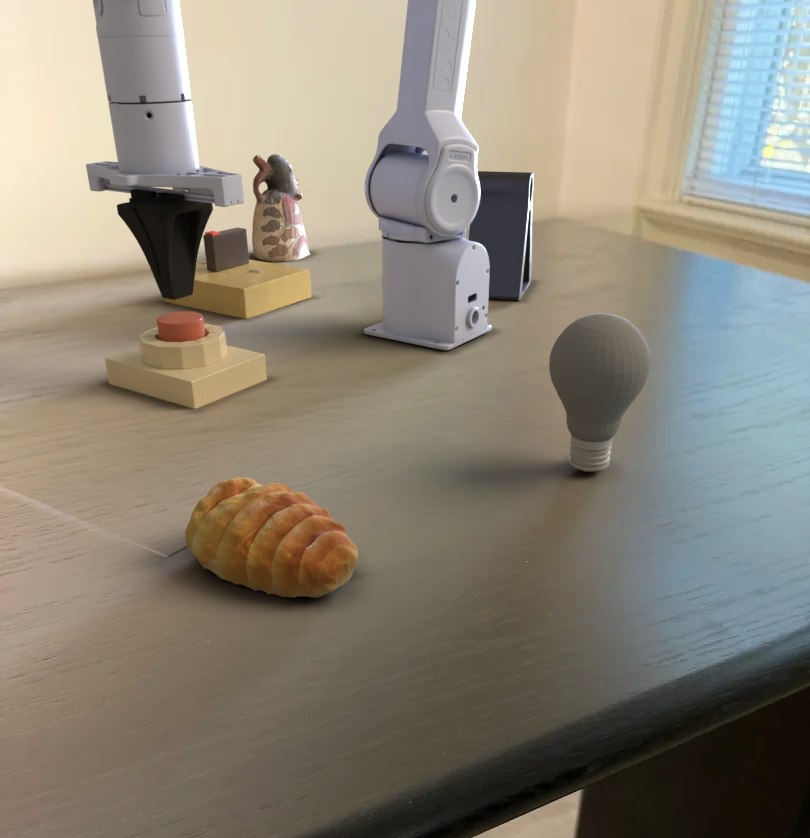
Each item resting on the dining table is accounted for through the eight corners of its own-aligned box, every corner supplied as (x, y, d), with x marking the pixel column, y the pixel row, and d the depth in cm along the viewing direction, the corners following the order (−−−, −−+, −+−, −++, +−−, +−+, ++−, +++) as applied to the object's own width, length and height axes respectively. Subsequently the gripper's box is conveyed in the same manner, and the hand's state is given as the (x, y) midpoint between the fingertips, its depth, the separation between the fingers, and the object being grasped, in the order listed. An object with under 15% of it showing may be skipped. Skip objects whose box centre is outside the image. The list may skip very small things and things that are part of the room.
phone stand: (518, 301, 93) (525, 179, 87) (463, 298, 95) (465, 177, 89) (531, 281, 101) (538, 167, 95) (480, 278, 102) (483, 166, 96)
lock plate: (311, 297, 95) (309, 267, 94) (246, 319, 88) (243, 287, 87) (227, 282, 102) (224, 253, 100) (160, 301, 94) (156, 271, 93)
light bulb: (571, 442, 61) (584, 296, 56) (652, 465, 58) (673, 312, 53) (523, 471, 57) (533, 317, 52) (607, 498, 54) (626, 335, 49)
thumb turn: (240, 261, 97) (236, 224, 95) (249, 263, 96) (246, 226, 94) (206, 270, 93) (202, 232, 92) (216, 272, 93) (211, 233, 91)
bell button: (215, 337, 71) (212, 315, 70) (181, 348, 68) (178, 326, 67) (184, 330, 73) (181, 308, 72) (150, 341, 70) (146, 319, 69)
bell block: (267, 379, 73) (263, 331, 71) (194, 409, 67) (188, 358, 65) (183, 358, 78) (177, 313, 76) (108, 384, 72) (100, 336, 70)
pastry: (389, 566, 47) (387, 502, 45) (300, 626, 42) (294, 558, 40) (264, 516, 52) (257, 457, 50) (173, 565, 47) (162, 501, 45)
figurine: (316, 258, 112) (310, 155, 106) (260, 263, 110) (251, 158, 104) (300, 247, 118) (294, 149, 112) (247, 252, 115) (238, 152, 109)
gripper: (37, 102, 63) (75, 294, 70) (178, 108, 56) (205, 322, 62) (117, 96, 68) (146, 276, 75) (256, 101, 61) (273, 300, 67)
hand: (177, 296), depth 69 cm, fingers closed
